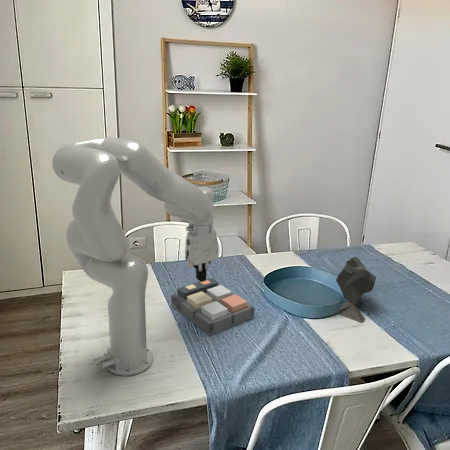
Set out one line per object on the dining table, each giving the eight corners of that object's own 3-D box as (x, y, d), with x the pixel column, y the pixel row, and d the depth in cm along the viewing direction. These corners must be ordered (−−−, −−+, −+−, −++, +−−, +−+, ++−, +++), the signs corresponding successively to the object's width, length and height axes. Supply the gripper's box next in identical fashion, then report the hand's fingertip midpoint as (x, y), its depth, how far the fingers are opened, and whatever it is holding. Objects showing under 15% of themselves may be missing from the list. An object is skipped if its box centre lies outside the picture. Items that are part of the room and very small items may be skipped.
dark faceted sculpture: (379, 305, 153) (387, 258, 147) (362, 323, 141) (370, 273, 135) (341, 292, 161) (348, 247, 155) (322, 307, 150) (328, 260, 144)
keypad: (209, 336, 132) (209, 316, 130) (171, 305, 148) (171, 288, 146) (253, 317, 142) (254, 299, 140) (213, 291, 159) (214, 274, 156)
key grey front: (212, 323, 133) (212, 314, 132) (200, 314, 137) (201, 306, 136) (227, 317, 137) (227, 308, 136) (216, 309, 141) (216, 301, 140)
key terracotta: (232, 315, 138) (232, 307, 137) (220, 307, 142) (221, 299, 141) (246, 309, 141) (247, 301, 140) (235, 302, 146) (235, 294, 145)
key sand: (197, 312, 139) (197, 303, 138) (186, 304, 143) (186, 296, 142) (212, 306, 142) (212, 298, 141) (201, 299, 147) (201, 291, 146)
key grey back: (217, 304, 144) (217, 296, 143) (206, 297, 148) (206, 289, 147) (231, 299, 147) (231, 291, 146) (220, 292, 152) (220, 285, 151)
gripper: (187, 236, 127) (188, 291, 133) (227, 225, 135) (226, 277, 142) (173, 228, 132) (175, 282, 139) (213, 218, 141) (212, 269, 148)
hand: (201, 279), depth 140 cm, fingers closed
